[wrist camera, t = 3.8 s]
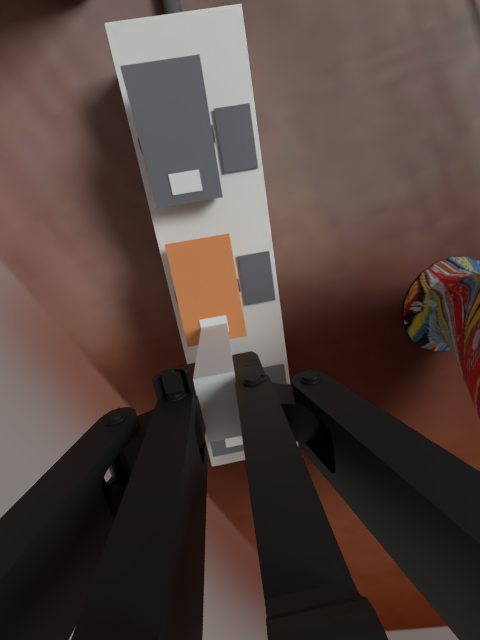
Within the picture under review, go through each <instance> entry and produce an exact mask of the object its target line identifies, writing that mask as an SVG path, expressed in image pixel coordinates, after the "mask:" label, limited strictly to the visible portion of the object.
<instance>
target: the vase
mask: <svg viewBox="0 0 480 640" xmlns="http://www.w3.org/2000/svg"><path fill="white" fill-rule="evenodd" d="M403 319H404V323H405V330H406V331H407V333H408V334H409V336H410V338H411V340H412V341H414V342H415V343H417V344H418V345H419V346H420V347H421V348H425V349H429V350H432V351H441V350H443V351H448V350H450V349H451V350H452V352H453V354H454V356H455V359H456V361H457V364H458V366H459V368H460V371H461V373H462V375H463V378H464V380H465V382H466V385H467V387H468V390H469V393H470V395H471V398H472V400H473V403H474V405H475V408H476V411H477V413H478V416H479V418H480V261H477V260H473V259H471V258H469V257H450V258H448V259H446V260H443V261H440V262H436V263H435V264H434V265H433V266H431V267H430V268H429V269H427V270H425V271H424V272H422V274H421V275H420V276H419V278H418V279H417V280H416V281H415V283H414V284H413V285H412V286H411V289H410V291H409V294H408V296H407V298H406V299H405V305H404V312H403Z"/></svg>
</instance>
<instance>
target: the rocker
mask: <svg viewBox="0 0 480 640" xmlns="http://www.w3.org/2000/svg"><path fill="white" fill-rule="evenodd" d="M120 68H121V72H122V76H123V79H124V83H125V87H126V91H127V95H128V99H129V102H130V106H131V110H132V114H133V118H134V122H135V126H136V129H137V133H138V142H139V146H140V150H141V152H142V154H143V156H144V160H145V164H146V168H147V172H148V176H149V180H150V183H151V187H152V191H153V195H154V199H155V203H156V206H157V208H162V207H168V206H174V205H180V204H186V203H192V202H198V201H204V200H210V199H216V198H222V197H223V196H222V190H221V184H220V177H219V171H218V165H217V159H216V153H215V147H214V143H215V136H214V129H213V125H211V122H210V116H209V109H208V103H207V97H206V91H205V85H204V79H203V72H202V66H201V60H200V54H199V55H192V56H185V57H178V58H172V59H165V60H158V61H151V62H144V63H138V64H131V65H124V66H120Z"/></svg>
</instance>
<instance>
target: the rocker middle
mask: <svg viewBox="0 0 480 640" xmlns="http://www.w3.org/2000/svg"><path fill="white" fill-rule="evenodd" d="M165 248H166V253H167V257H168V261H169V266H170V270H171V275H172V279H173V284H174V288H175V298H176V302H177V303H178V306H179V311H180V315H181V320H182V324H183V329H184V333H185V337H186V342H187V346H188V347H191V346H196V345H199V339H200V332H201V328H203V327H209V326H214V325H219V324H225V323H227V328H228V334H229V339H233V338H239V337H244V336H247V334H246V328H245V322H244V316H243V311H242V305H241V299H240V293H239V292H241V291H240V284H239V280H238V279H237V276H236V270H235V264H234V259H233V253H232V247H231V241H230V236H229V234H223V235H217V236H211V237H205V238H200V239H194V240H188V241H182V242H177V243H171V244H165Z"/></svg>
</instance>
